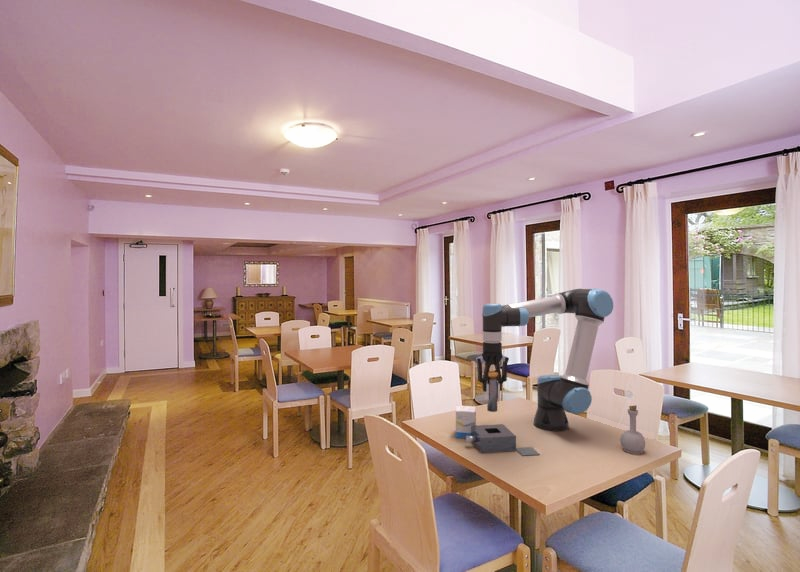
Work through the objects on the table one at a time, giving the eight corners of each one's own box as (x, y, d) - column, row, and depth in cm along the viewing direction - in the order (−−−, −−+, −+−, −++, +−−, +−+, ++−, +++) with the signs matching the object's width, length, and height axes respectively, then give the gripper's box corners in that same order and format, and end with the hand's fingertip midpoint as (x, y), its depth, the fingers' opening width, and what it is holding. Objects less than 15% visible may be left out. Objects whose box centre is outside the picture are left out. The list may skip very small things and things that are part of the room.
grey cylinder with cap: (496, 408, 176) (496, 369, 176) (500, 411, 171) (500, 372, 171) (484, 408, 176) (483, 370, 175) (488, 412, 170) (488, 372, 170)
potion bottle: (636, 456, 161) (636, 409, 161) (615, 448, 169) (615, 403, 169) (651, 452, 165) (651, 406, 165) (629, 444, 173) (629, 400, 173)
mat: (532, 448, 170) (532, 447, 170) (539, 455, 163) (539, 454, 163) (515, 449, 170) (515, 448, 170) (522, 456, 163) (522, 455, 163)
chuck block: (503, 438, 181) (503, 424, 181) (516, 451, 167) (515, 435, 167) (461, 440, 179) (461, 426, 179) (471, 453, 165) (471, 438, 165)
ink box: (475, 439, 180) (475, 411, 180) (455, 438, 182) (455, 410, 182) (476, 432, 189) (476, 405, 189) (457, 431, 191) (456, 404, 190)
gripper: (508, 339, 178) (508, 395, 178) (469, 340, 176) (469, 397, 176) (515, 342, 170) (516, 400, 171) (474, 343, 168) (474, 402, 169)
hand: (492, 398), depth 173 cm, fingers closed on grey cylinder with cap, 4 cm apart
